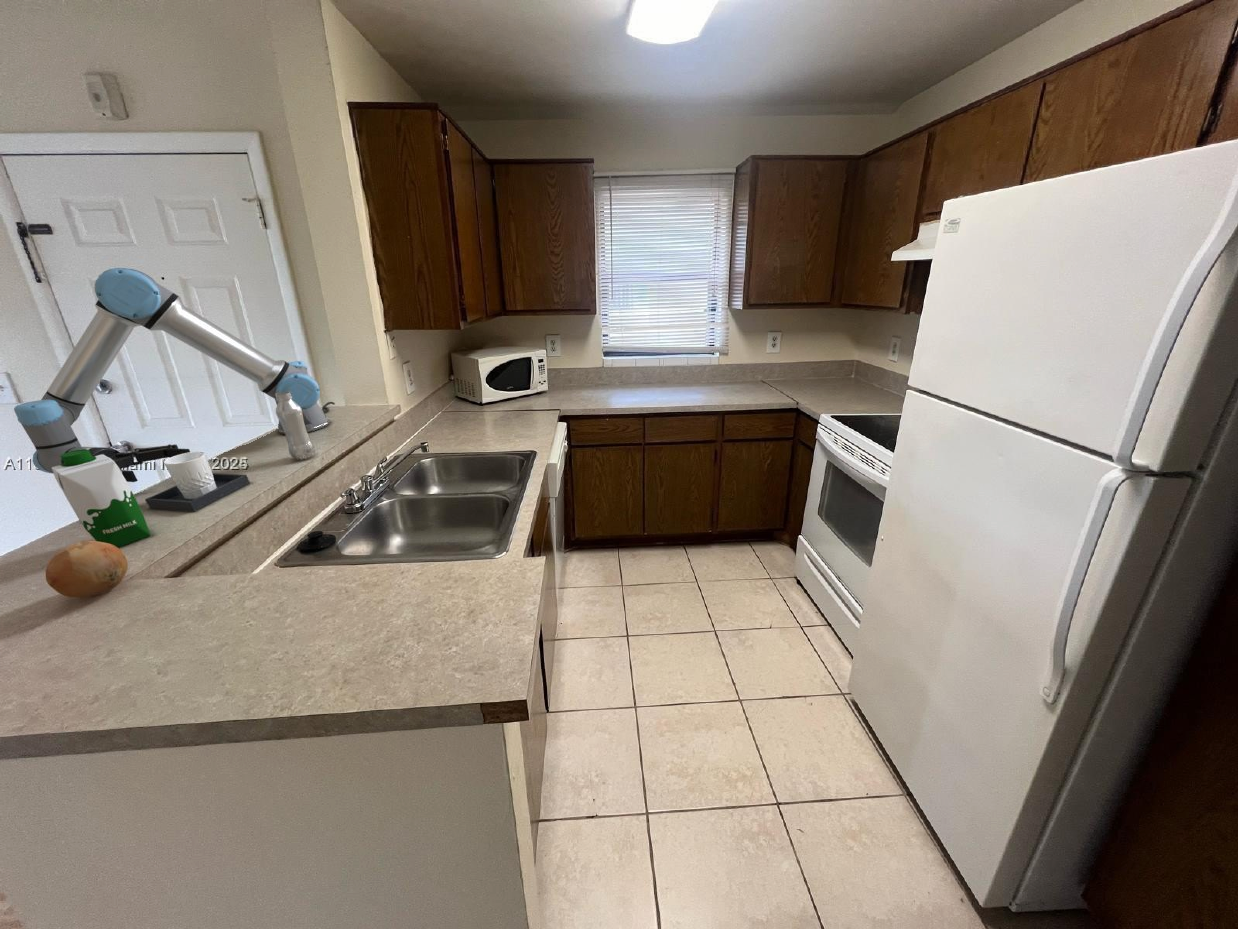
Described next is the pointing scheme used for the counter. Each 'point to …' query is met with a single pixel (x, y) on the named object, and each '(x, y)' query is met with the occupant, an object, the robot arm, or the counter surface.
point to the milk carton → (101, 498)
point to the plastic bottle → (294, 426)
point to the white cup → (191, 474)
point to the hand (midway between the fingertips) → (163, 464)
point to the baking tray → (176, 501)
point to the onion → (86, 569)
